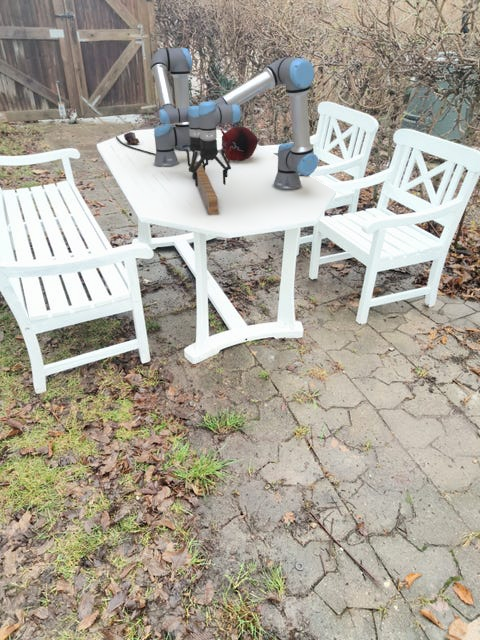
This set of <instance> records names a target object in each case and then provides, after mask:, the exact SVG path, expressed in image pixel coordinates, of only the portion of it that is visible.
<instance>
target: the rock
mask: <svg viewBox="0 0 480 640" xmlns="http://www.w3.org/2000/svg"><path fill="white" fill-rule="evenodd" d="M123 138H124V140H125V141H126V143H127V145H138V144H140V140H139V139H138V138H137V137H136V134H135V132H133V131H129V132H126V133H124V134H123Z"/></svg>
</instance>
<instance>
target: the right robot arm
mask: <svg viewBox="0 0 480 640" xmlns="http://www.w3.org/2000/svg"><path fill="white" fill-rule="evenodd" d="M314 79H315V69H314V66H313V64H312V63H311V62H310V61H309V60H308V59H306V58H305V59H304V58H302V57H292V56H283V57H281V58H279V59H277V60H275V61H274V62H272V63H270V64H268V65H267V66H265V67H263V70H262V71H261V72H260V73H258V74H256V75H254V76H253V77H251V78H250V79H248V80H247V81H245V82H243V83H242V84H240V85H238V86H236V87H235V88H233V89H232V90H230V91H229V92H226V93H225V94H223V95H222V96H220V97H218V98H217V99H209V100H208V101H201V102H200V103H199V104H198V106H199V121H200V138H201V151H196V150H195V151H194V157H193V159H192V158H191V161H192V162H191V161H190V166H188V172H189V173H192V179H193V181H195V187H196V188H199V187H198V181H197V172H196V171H197V169H198V168H199V167H200V165H201V164H202V163H203V162H204V163H205V161H206V160H207V161H208V162H209V161H214V160H215V161H216V162H217V163H218V164H219V165H220V166H221V168H222V184H223V185H224V186H226V185H227V183H226V178H228V171H229V170H231V169H232V167H231V164H230V162H229V163H228V159H227V158H226V156H225V154H224V150H223V149H222V148H220V149H218V140H217V138H218V137H217V125H224V124H234V123H235V124H236V123H238V122H240V120H241V117H242V111H241V108H240V106H242V105H243V104H244V103H246V102H248V101H250V100H251V99H253V98H255V97H256V96H258V95H260V94H261V93H263V92H265V91H266V90H268V89H269V88H271V89H274V88H275V87H276V86H281V85H284V86H285V93H286V94H287V95H288V97H289V107H290V109H289V110H290V120H291V132H292V142H285V143H281V144H280V145H278V149H277V172H276V176H275V177H274V178H275V179H274V181H273V187H274V188H276V189H278V190H282V191H283V190H284V191H294V190H298V189H300V188H301V187H302V182H301V179H300V177H308V176H309V177H310V176H311V175H312V174H313V173H314V172H315V171H316V169H317V168H318V165H319V157H318V156H317V154H315V153H314V152H315V151H314V145H313V144H312V143H311V134H310V133H311V132H310V118H309V117H310V115H309V99H308V98H309V97H308V93H309V92H310V91H311V85H312V83H313V81H314ZM200 154H201V155H202V157H200V159H199V160H198V156H200ZM218 154H219V155H221V157H222V159H223V160H224V162H225V164H226V165H225V164H224V163H223V162H222V160H220V159H219V157H218ZM197 160H198V163H197V164H196V166H195V167H194V168H193V166H194V164H195V161H197ZM202 165H203V164H202Z"/></svg>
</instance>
